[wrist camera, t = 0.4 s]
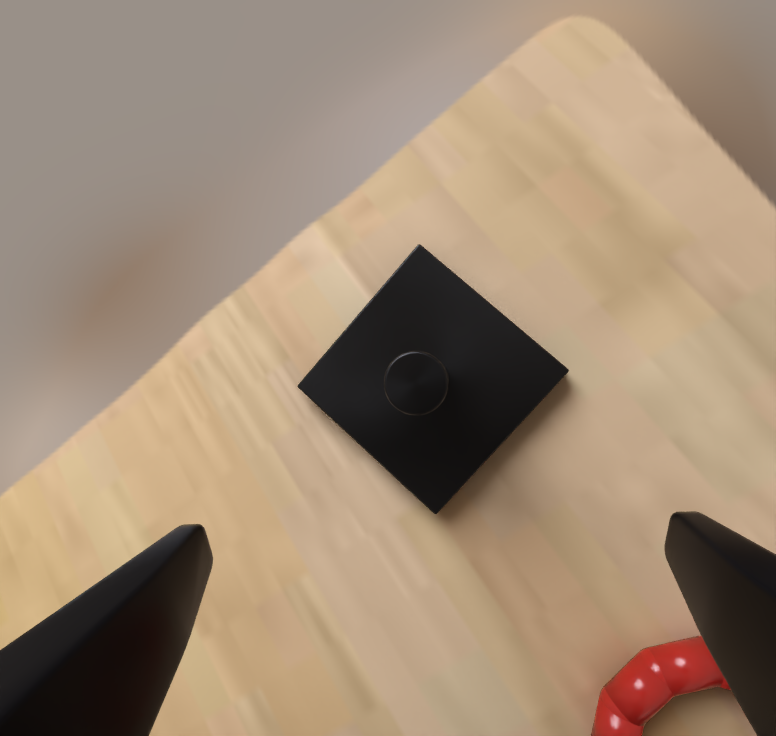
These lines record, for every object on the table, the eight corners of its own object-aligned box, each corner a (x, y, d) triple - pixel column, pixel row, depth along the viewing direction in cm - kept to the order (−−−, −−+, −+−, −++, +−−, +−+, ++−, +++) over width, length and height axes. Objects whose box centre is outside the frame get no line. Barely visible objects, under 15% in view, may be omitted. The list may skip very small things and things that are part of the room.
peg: (564, 370, 20) (636, 370, 13) (436, 508, 21) (428, 590, 13) (420, 248, 21) (402, 178, 14) (303, 385, 22) (221, 394, 14)
